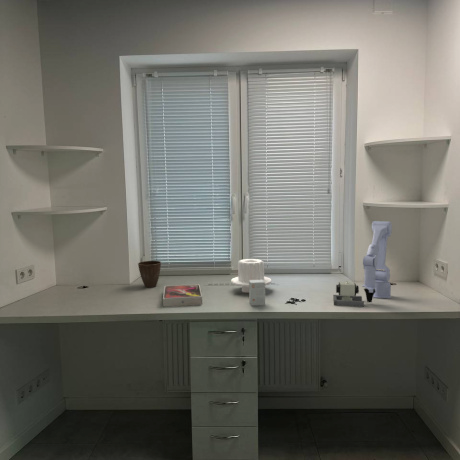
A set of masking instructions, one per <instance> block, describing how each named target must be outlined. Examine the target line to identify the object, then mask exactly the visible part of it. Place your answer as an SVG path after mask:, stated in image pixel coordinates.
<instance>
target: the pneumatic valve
mask: <svg viewBox="0 0 460 460" xmlns="http://www.w3.org/2000/svg"><path fill="white" fill-rule="evenodd" d="M359 292H360V288H359V285H357V284H356V283H355V282H349V281H346V282H341V281H339V282H338V284H336V285H335V293H338V294H337V295H342V296H343V297H344V298H343V297H342V300H346V301H352V298H350V296H357V294H359Z"/></svg>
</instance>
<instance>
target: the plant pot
mask: <svg viewBox="0 0 460 460" xmlns="http://www.w3.org/2000/svg"><path fill="white" fill-rule="evenodd" d="M137 266H138V270H139V274H140V277H141V281H142V283H143V285H144V287H145V288H148V289H149V288H150V289H152V288H156V287H157V285H158V282H159V279H160V275H161V268H162V267H161V266H162V261H160V260H145V261H140V262H138V263H137Z"/></svg>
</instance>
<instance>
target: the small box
mask: <svg viewBox="0 0 460 460" xmlns="http://www.w3.org/2000/svg"><path fill="white" fill-rule="evenodd" d="M248 296H249V298H248V299H249V304H251V305H250V306H251V307H252V306H266V286H265V282H264V281H263V280H249V293H248Z"/></svg>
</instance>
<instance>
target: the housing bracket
mask: <svg viewBox="0 0 460 460" xmlns="http://www.w3.org/2000/svg"><path fill="white" fill-rule="evenodd" d="M332 296H333V297H332V299H333V300H332V301H333V305H334V306H340V307H342V306H345V307H359V308H361V307H362V308H364V307H365V301H363V296H362V295H356V296H350V298H352V301H346V300H342V297H343V296H342V295H339V294H333V295H332ZM343 298H344V297H343Z"/></svg>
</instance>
